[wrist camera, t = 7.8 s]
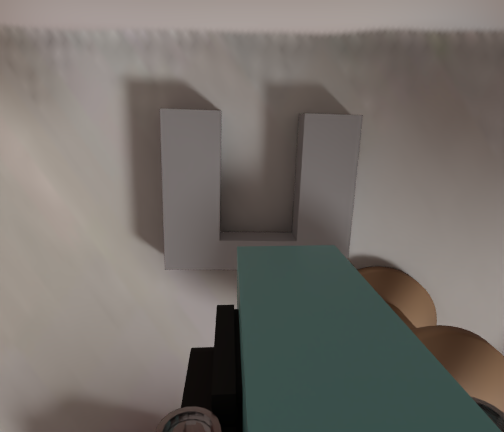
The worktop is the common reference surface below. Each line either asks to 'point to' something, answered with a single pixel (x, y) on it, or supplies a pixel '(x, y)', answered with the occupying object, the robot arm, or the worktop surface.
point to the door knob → (442, 335)
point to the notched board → (209, 188)
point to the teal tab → (335, 352)
